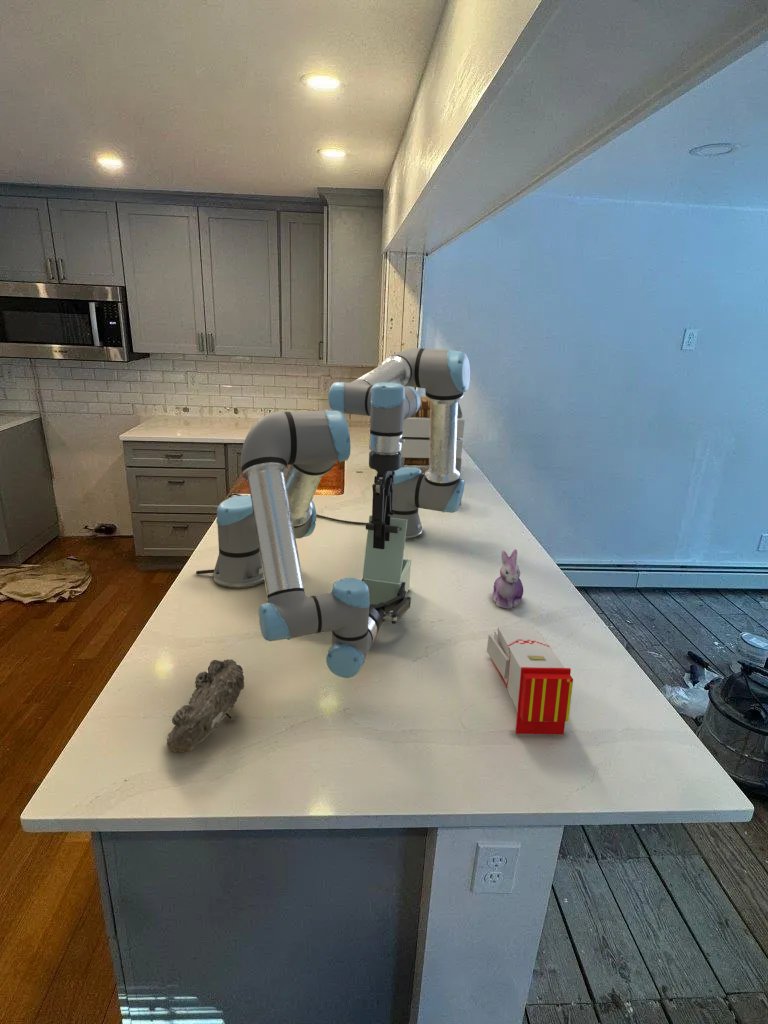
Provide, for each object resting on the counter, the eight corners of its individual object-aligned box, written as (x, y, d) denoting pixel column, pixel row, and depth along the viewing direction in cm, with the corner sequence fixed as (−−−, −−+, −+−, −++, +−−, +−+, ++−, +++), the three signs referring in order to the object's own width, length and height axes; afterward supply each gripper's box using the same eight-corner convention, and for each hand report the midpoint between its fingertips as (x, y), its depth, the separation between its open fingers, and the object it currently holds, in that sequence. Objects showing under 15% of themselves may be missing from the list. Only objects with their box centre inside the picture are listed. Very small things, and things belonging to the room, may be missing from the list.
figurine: (505, 613, 150) (512, 561, 145) (482, 596, 158) (488, 546, 153) (533, 606, 154) (540, 555, 149) (509, 589, 163) (515, 541, 158)
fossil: (192, 660, 117) (244, 628, 112) (224, 691, 120) (276, 661, 115) (142, 746, 98) (202, 712, 93) (182, 779, 101) (242, 748, 96)
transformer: (382, 463, 289) (386, 382, 275) (445, 464, 293) (451, 384, 279) (390, 482, 257) (394, 392, 243) (460, 483, 261) (468, 394, 247)
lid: (370, 515, 146) (363, 515, 138) (407, 519, 144) (402, 520, 136) (363, 577, 146) (355, 580, 138) (400, 582, 144) (394, 586, 136)
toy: (534, 612, 132) (582, 675, 102) (529, 665, 135) (574, 741, 105) (482, 611, 131) (516, 674, 102) (478, 664, 134) (510, 740, 105)
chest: (376, 582, 163) (376, 554, 160) (409, 587, 161) (410, 559, 158) (362, 609, 149) (362, 579, 146) (398, 614, 147) (399, 584, 144)
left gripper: (315, 633, 132) (343, 590, 153) (409, 649, 128) (425, 603, 148) (315, 605, 130) (343, 565, 150) (411, 620, 125) (427, 577, 146)
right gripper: (393, 462, 122) (388, 560, 130) (408, 444, 139) (403, 533, 147) (359, 458, 124) (356, 556, 132) (378, 442, 140) (375, 529, 148)
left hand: (384, 584), depth 149 cm, fingers closed on chest, 10 cm apart
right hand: (381, 543), depth 139 cm, fingers open, 5 cm apart
